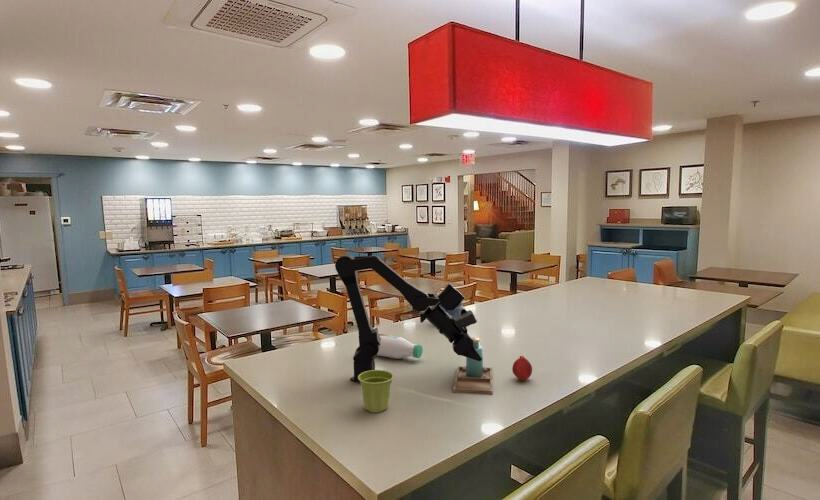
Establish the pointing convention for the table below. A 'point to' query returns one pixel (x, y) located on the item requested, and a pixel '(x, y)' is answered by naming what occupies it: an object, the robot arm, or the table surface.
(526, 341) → the table surface
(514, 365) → the onion
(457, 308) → the canister
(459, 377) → the double tray
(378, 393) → the plant pot
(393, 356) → the milk bottle
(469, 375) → the bottle
